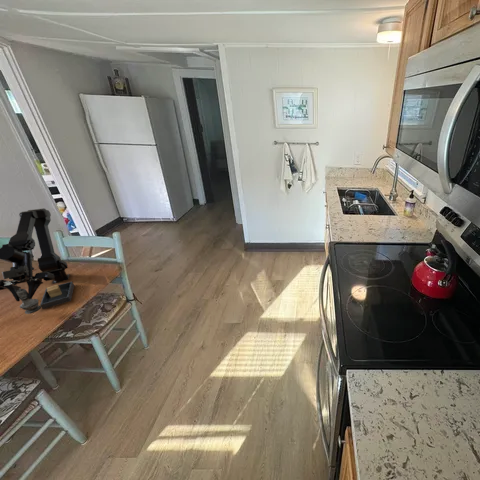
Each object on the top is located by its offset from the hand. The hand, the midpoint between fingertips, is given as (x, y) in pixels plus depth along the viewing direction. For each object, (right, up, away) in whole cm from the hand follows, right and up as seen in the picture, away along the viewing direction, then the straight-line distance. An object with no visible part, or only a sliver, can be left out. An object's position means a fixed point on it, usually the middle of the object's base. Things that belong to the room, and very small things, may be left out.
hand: (24, 300), depth 113 cm
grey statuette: (-1, -5, +4) cm, 7 cm away
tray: (-2, -3, +18) cm, 18 cm away
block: (-5, -1, +19) cm, 19 cm away
